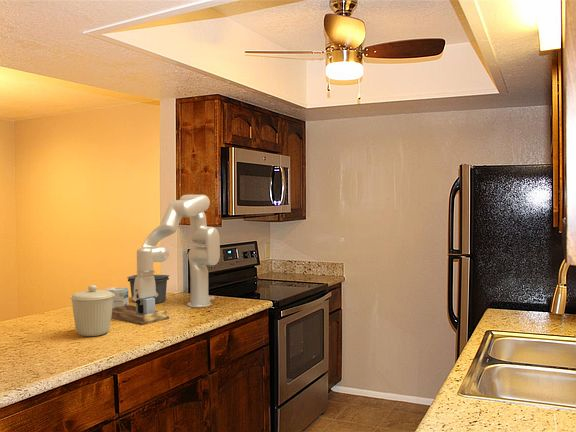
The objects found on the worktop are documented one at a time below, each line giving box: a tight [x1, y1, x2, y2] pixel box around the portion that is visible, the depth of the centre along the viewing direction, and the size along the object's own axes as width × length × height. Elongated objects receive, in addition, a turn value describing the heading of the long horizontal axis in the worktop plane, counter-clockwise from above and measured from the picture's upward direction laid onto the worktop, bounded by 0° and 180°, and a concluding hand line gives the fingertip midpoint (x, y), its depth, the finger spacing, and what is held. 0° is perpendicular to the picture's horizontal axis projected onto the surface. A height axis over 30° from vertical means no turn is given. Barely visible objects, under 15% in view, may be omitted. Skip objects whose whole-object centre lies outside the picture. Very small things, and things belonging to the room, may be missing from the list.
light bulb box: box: [103, 287, 130, 308], centre depth 284 cm, size 11×7×11 cm, turn 84°
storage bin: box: [126, 274, 170, 304], centre depth 303 cm, size 21×16×14 cm
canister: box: [69, 284, 115, 337], centre depth 233 cm, size 18×18×21 cm
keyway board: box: [111, 304, 170, 326], centre depth 264 cm, size 16×30×4 cm, turn 54°
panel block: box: [135, 298, 156, 316], centre depth 259 cm, size 5×8×8 cm, turn 53°
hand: (145, 311), depth 259 cm, fingers closed on panel block, 5 cm apart
